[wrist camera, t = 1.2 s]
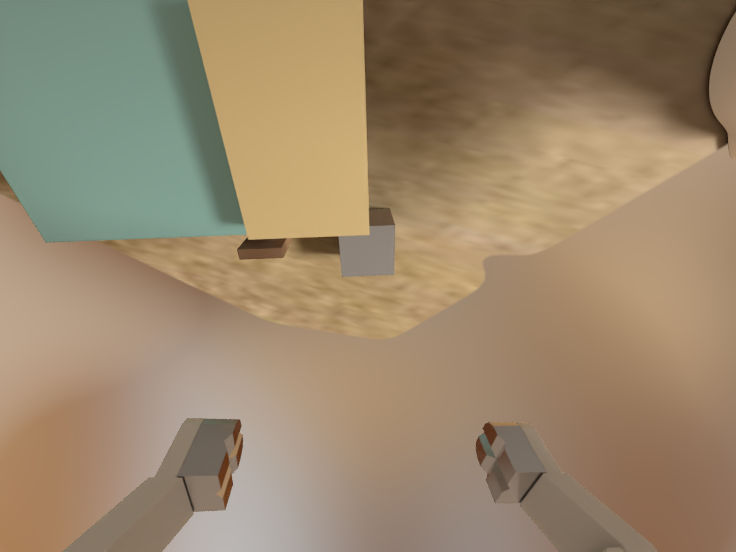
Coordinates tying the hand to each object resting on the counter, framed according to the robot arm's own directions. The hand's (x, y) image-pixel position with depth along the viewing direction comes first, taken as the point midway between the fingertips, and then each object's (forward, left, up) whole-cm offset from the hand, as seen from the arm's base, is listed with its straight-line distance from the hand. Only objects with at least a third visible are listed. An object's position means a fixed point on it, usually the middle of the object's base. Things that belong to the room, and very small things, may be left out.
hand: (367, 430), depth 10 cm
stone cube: (0, +2, -23) cm, 23 cm away
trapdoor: (+9, -8, -13) cm, 18 cm away
